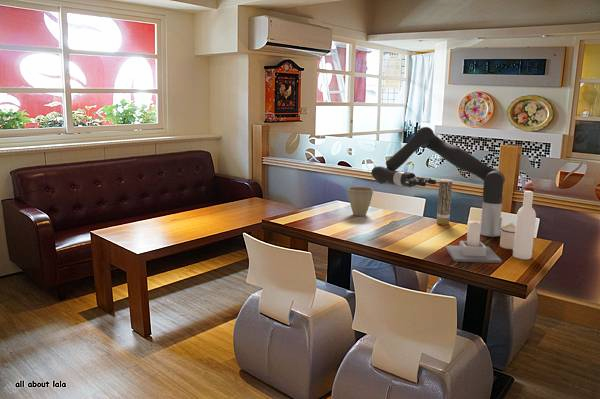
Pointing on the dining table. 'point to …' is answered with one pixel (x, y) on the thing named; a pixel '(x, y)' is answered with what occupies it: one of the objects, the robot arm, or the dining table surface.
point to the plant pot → (360, 199)
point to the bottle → (524, 228)
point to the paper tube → (444, 201)
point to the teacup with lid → (507, 236)
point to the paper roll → (473, 233)
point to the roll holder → (472, 253)
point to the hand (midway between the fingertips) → (430, 183)
